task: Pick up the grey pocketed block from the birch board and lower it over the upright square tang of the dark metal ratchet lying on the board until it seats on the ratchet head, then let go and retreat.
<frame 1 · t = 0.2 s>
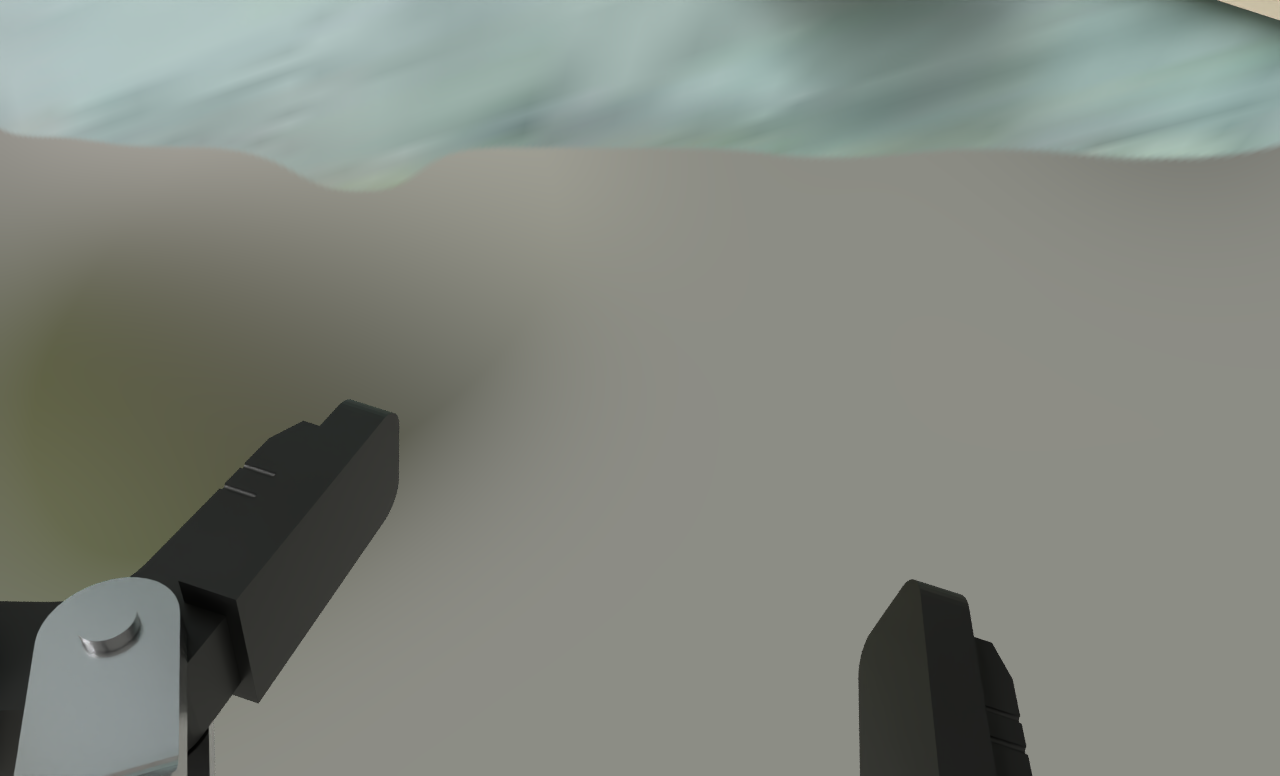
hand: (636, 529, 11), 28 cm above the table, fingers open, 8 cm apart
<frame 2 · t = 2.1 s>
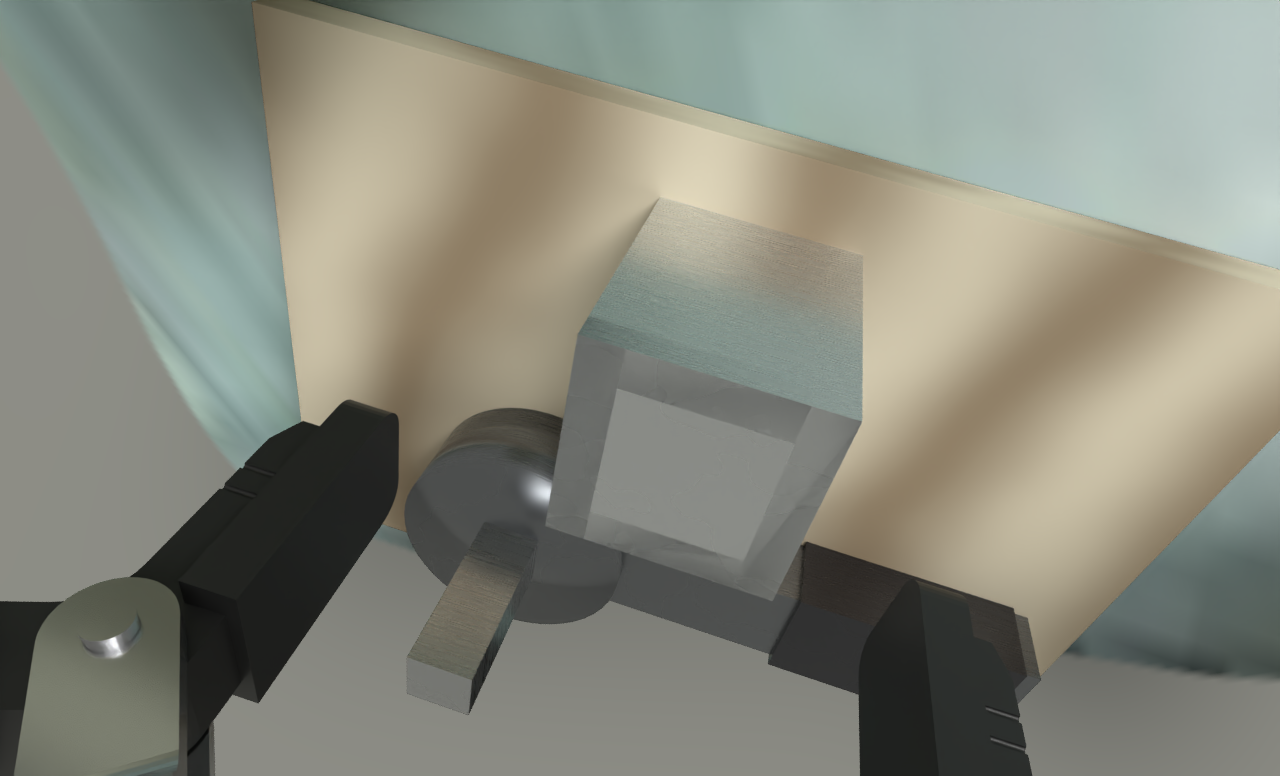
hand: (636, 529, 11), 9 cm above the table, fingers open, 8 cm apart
grey pocketed block: (732, 313, 18), point 1 cm above the table, touching board
board: (701, 409, 21), on the table
ratchet: (538, 491, 23), resting on board
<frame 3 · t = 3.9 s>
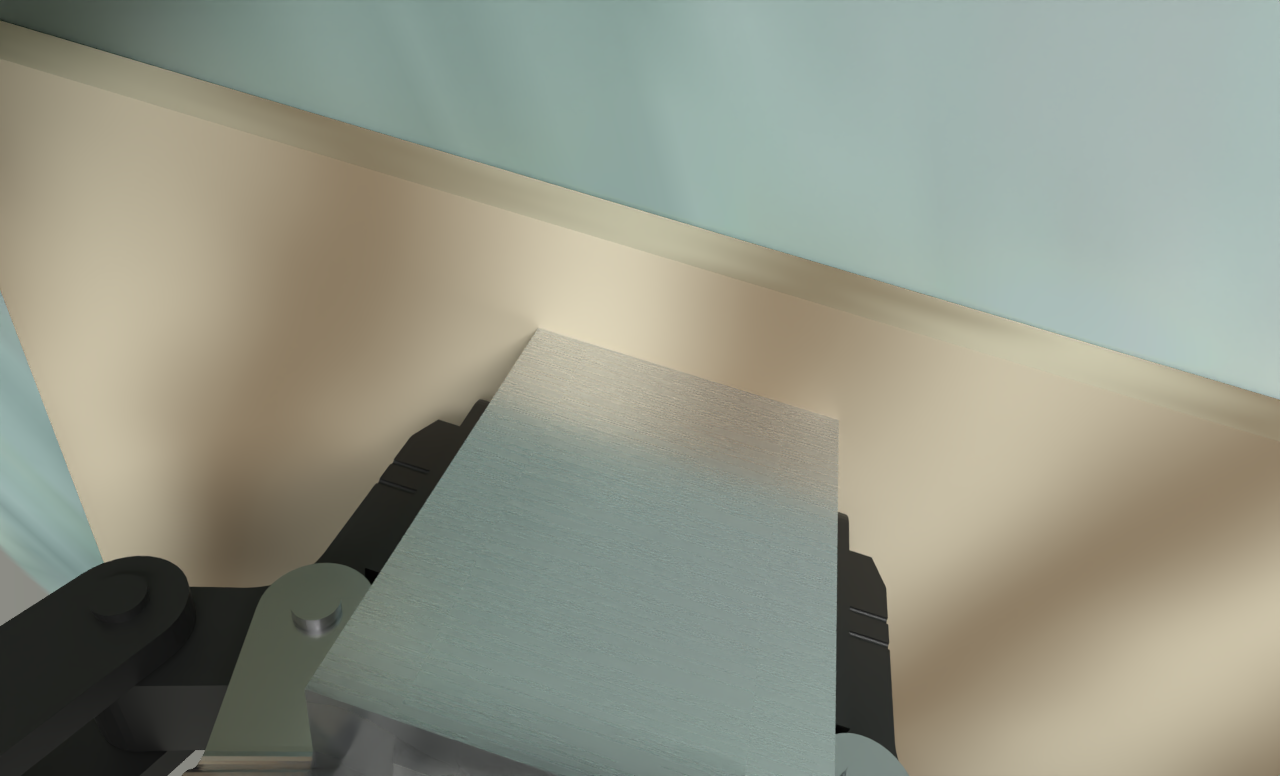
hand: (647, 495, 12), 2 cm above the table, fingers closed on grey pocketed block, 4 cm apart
grey pocketed block: (653, 481, 12), point 1 cm above the table, touching board, gripper
board: (624, 573, 16), on the table
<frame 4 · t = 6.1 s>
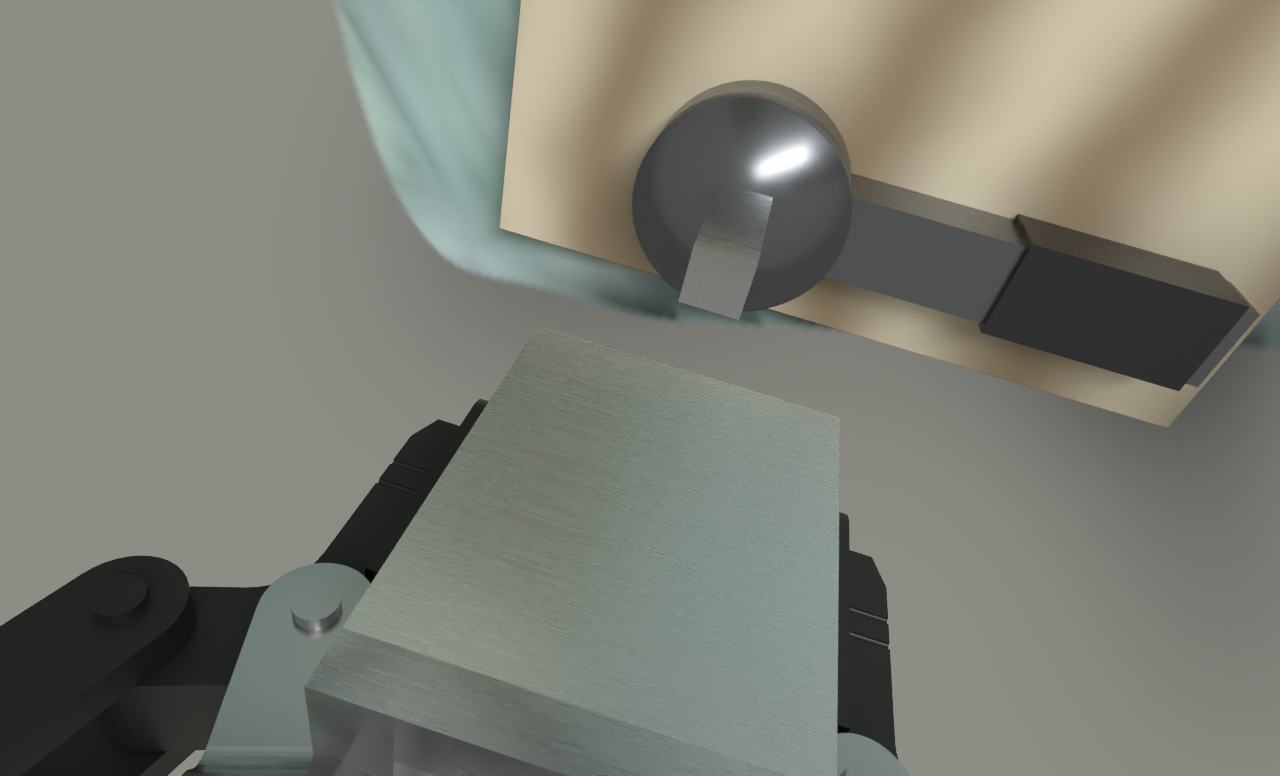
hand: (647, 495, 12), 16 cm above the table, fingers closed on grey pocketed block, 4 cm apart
grey pocketed block: (653, 479, 12), point 15 cm above the table, touching gripper
board: (921, 82, 22), on the table
ratchet: (747, 186, 24), resting on board
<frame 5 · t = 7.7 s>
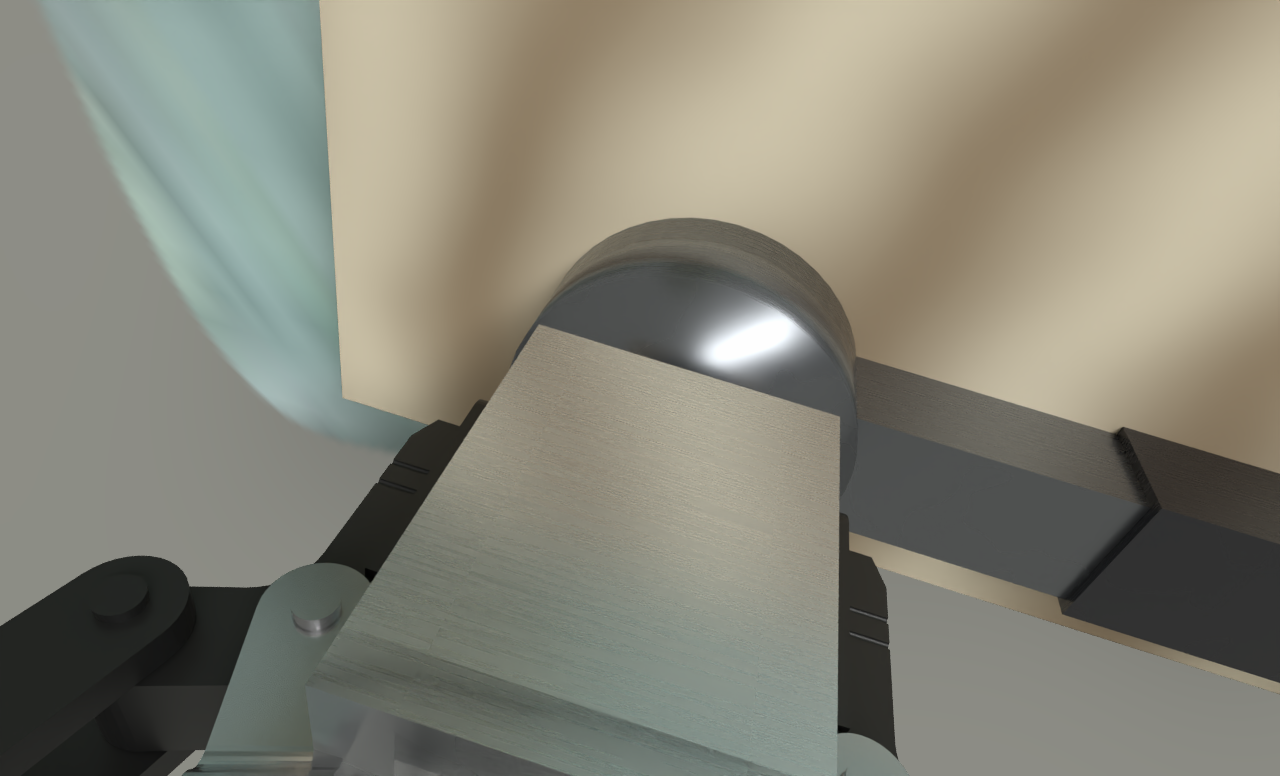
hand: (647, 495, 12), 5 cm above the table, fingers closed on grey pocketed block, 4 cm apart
grey pocketed block: (653, 478, 12), point 5 cm above the table, touching gripper
board: (968, 221, 14), on the table
ratchet: (695, 364, 15), resting on board
when the fingers open (5 cm above the table, at t = 8.8 s): grey pocketed block stays where it is, resting on ratchet.
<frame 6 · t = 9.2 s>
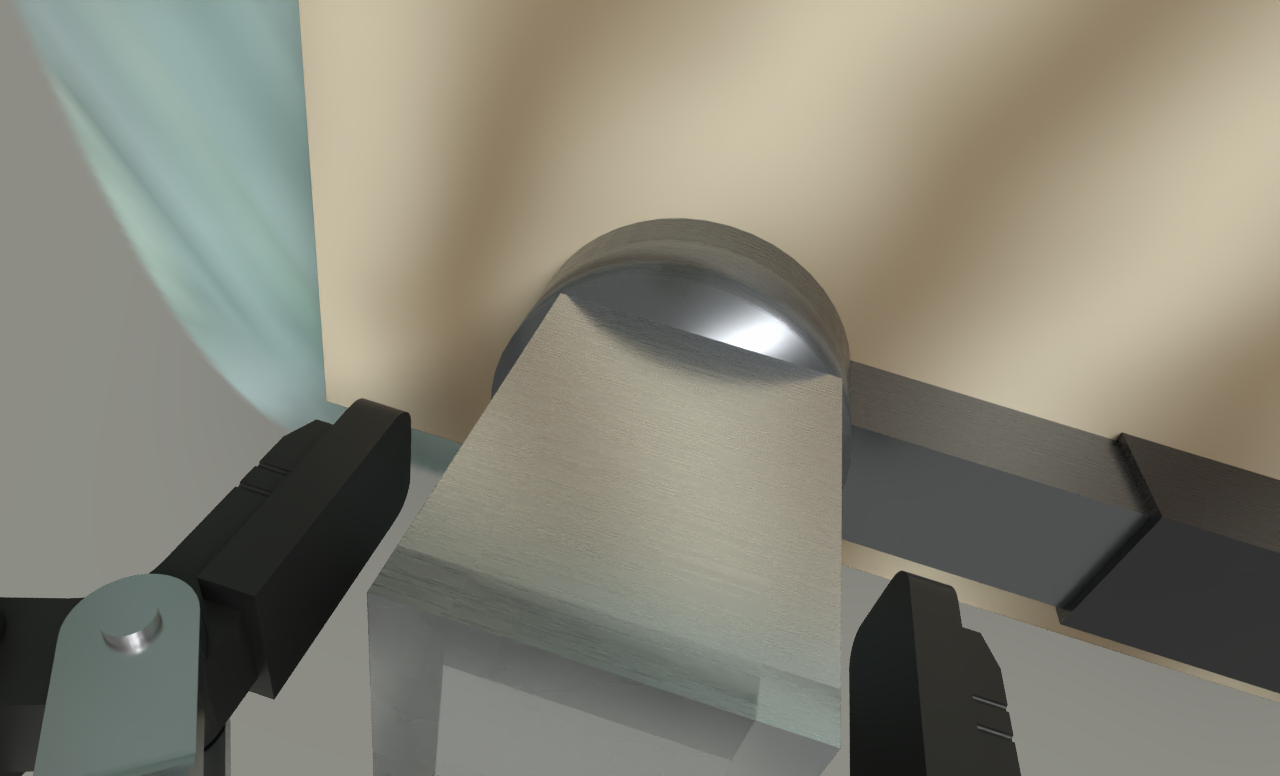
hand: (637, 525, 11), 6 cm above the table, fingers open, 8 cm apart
grey pocketed block: (666, 441, 13), point 4 cm above the table, touching ratchet
board: (965, 222, 13), on the table
ratchet: (686, 368, 15), resting on board
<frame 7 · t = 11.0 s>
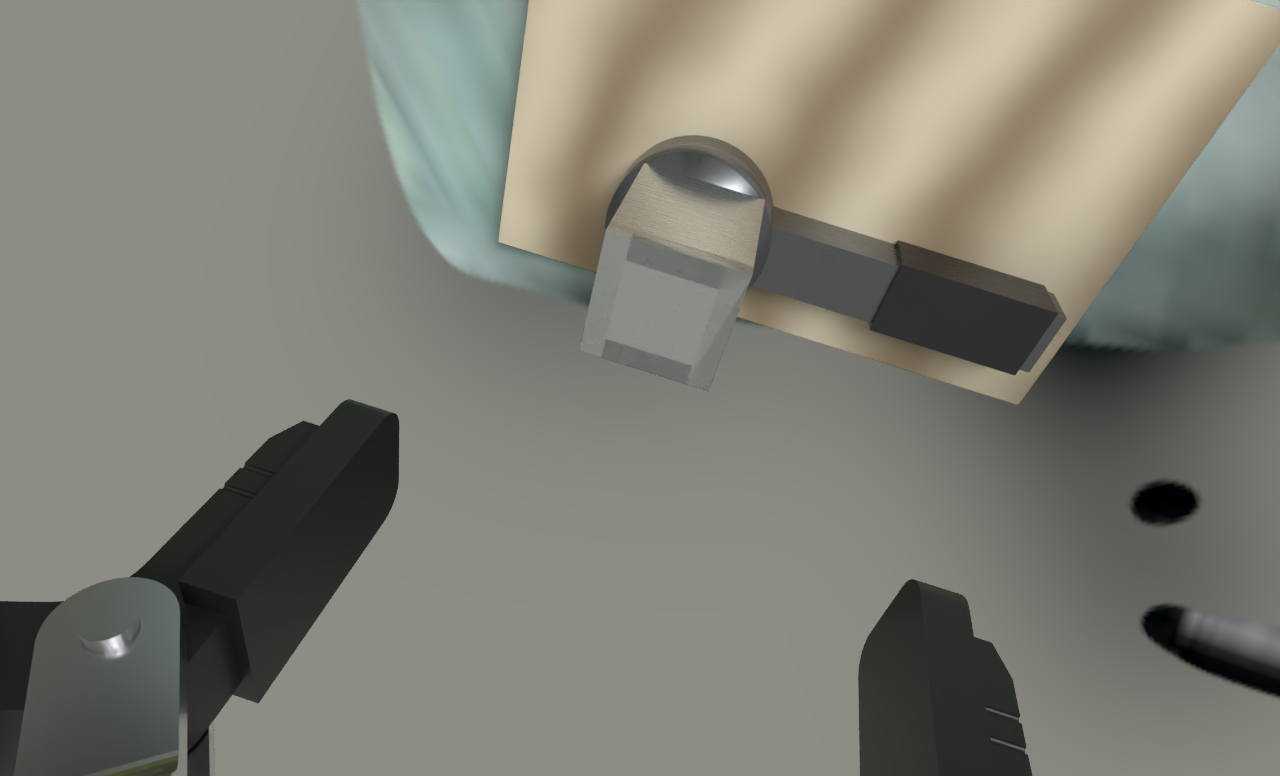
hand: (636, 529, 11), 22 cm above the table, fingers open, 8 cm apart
grey pocketed block: (687, 237, 28), point 4 cm above the table, touching ratchet
board: (825, 139, 29), on the table
ratchet: (694, 214, 30), resting on board
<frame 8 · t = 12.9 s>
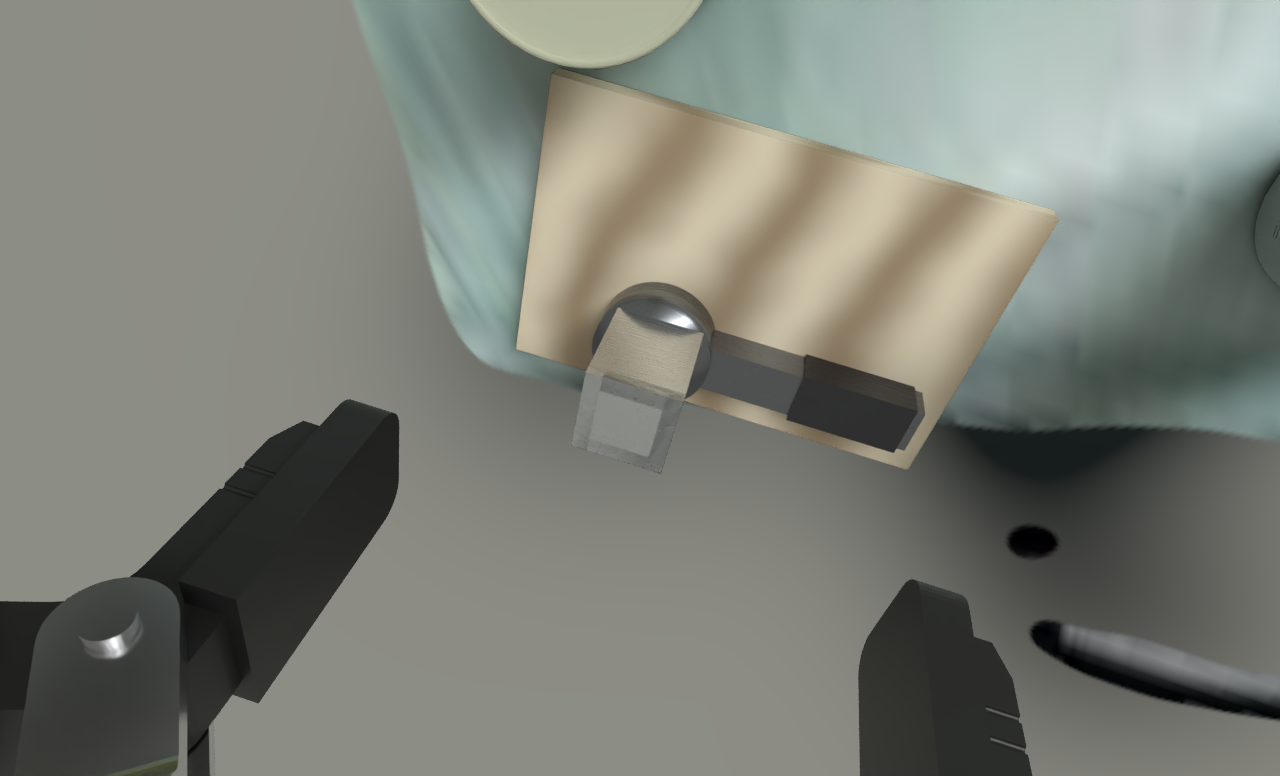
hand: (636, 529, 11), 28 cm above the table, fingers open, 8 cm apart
grey pocketed block: (651, 355, 39), point 4 cm above the table, touching ratchet
board: (751, 283, 40), on the table
ratchet: (658, 333, 41), resting on board
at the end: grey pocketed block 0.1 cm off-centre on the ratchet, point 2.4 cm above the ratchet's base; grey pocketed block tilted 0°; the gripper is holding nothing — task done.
